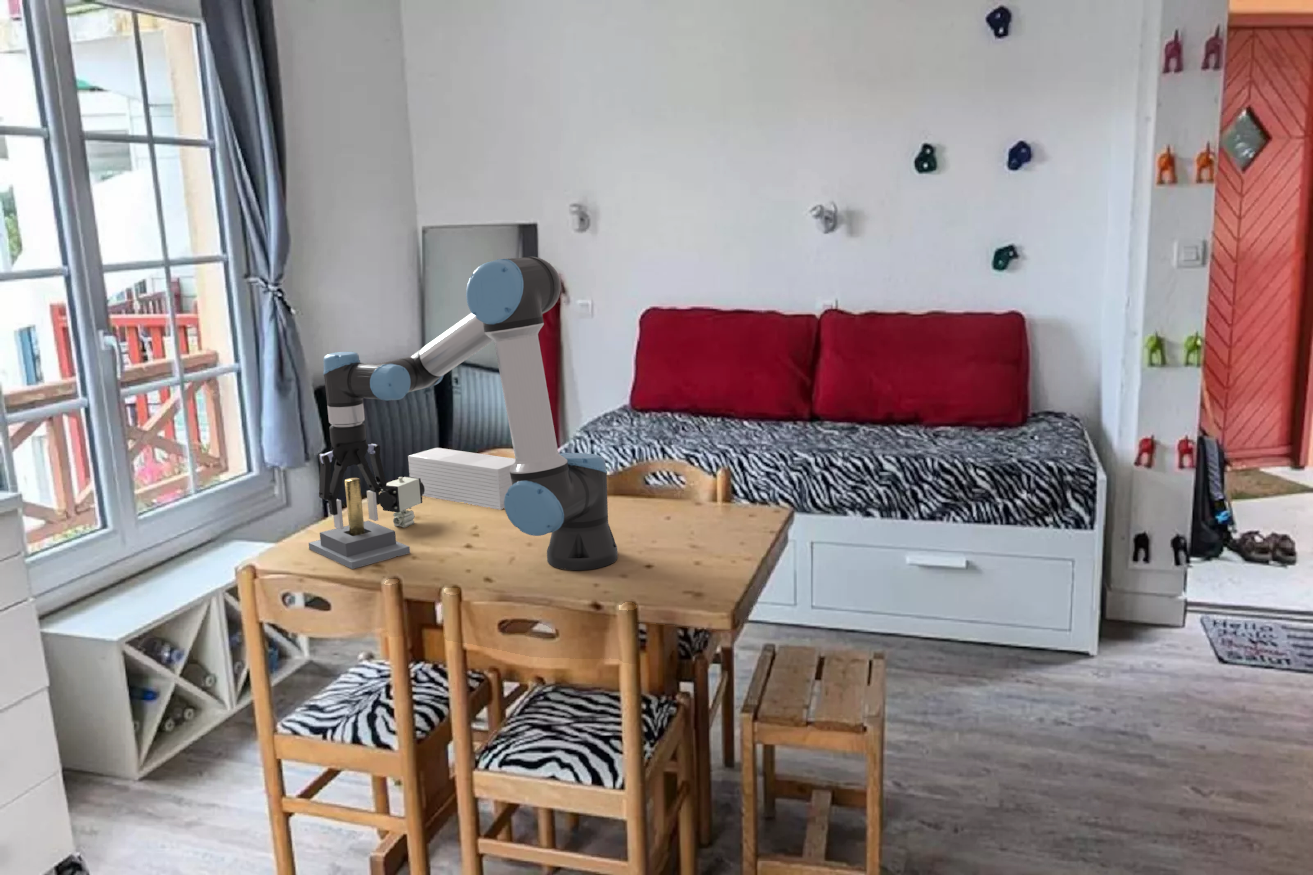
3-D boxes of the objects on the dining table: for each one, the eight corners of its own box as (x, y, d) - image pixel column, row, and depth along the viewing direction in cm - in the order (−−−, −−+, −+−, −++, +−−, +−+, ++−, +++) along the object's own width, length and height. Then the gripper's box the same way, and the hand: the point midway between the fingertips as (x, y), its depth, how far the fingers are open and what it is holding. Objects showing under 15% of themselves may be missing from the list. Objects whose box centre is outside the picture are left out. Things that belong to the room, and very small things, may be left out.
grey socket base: (410, 553, 229) (408, 533, 228) (352, 569, 220) (350, 548, 219) (365, 534, 244) (363, 516, 243) (309, 549, 234) (307, 530, 233)
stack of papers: (411, 494, 278) (407, 455, 276) (439, 485, 287) (436, 447, 285) (500, 510, 261) (497, 469, 259) (528, 500, 270) (525, 460, 267)
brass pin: (368, 544, 231) (362, 479, 228) (355, 547, 229) (348, 482, 226) (361, 541, 234) (355, 477, 230) (348, 544, 232) (341, 479, 228)
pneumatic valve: (427, 519, 254) (424, 472, 252) (395, 533, 244) (391, 484, 241) (410, 517, 257) (406, 470, 254) (377, 530, 246) (373, 481, 244)
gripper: (380, 414, 235) (389, 510, 240) (294, 428, 221) (305, 531, 226) (397, 418, 230) (406, 516, 235) (310, 433, 216) (321, 538, 221)
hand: (356, 523), depth 230 cm, fingers open, 8 cm apart
